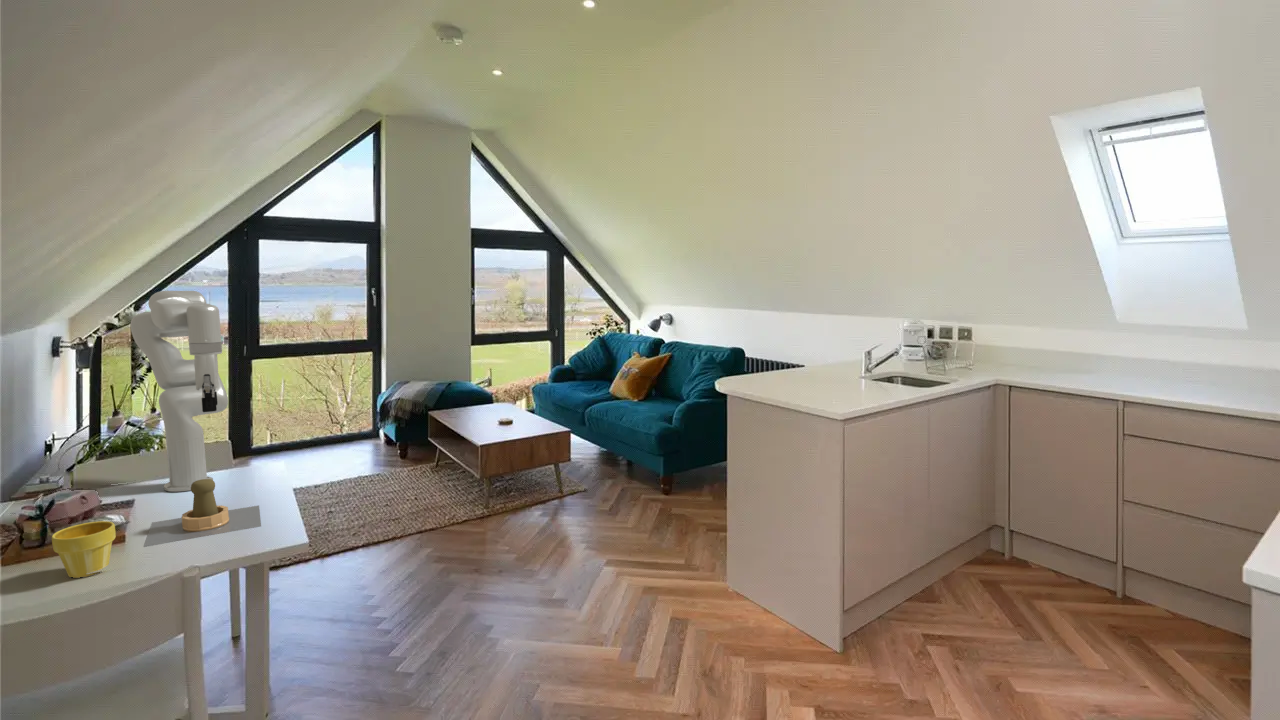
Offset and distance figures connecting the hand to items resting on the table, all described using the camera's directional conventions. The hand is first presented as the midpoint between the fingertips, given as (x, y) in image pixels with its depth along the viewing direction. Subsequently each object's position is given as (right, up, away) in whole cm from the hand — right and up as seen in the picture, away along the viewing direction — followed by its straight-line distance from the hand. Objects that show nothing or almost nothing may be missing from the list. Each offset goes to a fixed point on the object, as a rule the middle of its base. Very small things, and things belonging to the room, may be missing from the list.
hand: (210, 408), depth 175 cm
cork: (+9, -29, -14) cm, 33 cm away
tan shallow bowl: (+9, -29, -14) cm, 34 cm away
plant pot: (0, -33, -39) cm, 51 cm away
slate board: (+9, -30, -14) cm, 35 cm away
